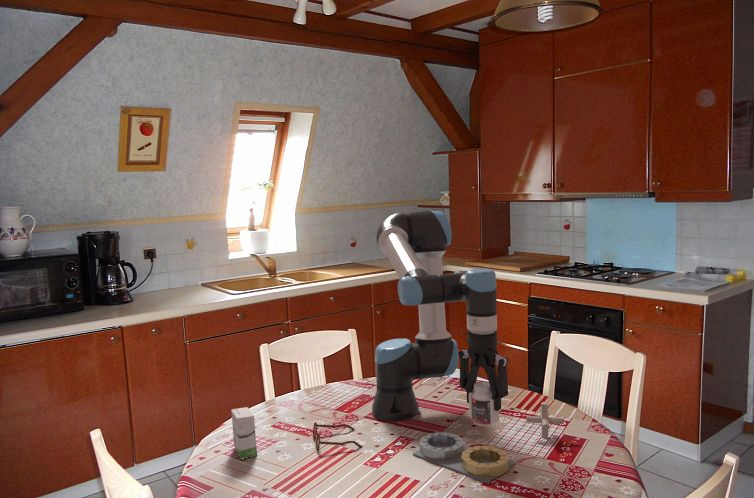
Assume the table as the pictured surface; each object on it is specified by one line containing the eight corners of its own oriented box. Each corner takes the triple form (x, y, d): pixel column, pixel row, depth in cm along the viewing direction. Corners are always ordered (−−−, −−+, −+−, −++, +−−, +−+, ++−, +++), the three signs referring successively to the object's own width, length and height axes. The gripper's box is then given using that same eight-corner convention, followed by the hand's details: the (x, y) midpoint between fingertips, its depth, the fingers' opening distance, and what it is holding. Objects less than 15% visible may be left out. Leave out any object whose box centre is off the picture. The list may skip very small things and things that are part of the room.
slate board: (412, 455, 161) (412, 453, 161) (442, 439, 171) (441, 437, 171) (487, 483, 145) (487, 481, 145) (515, 463, 154) (515, 462, 154)
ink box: (257, 456, 165) (255, 415, 163) (240, 460, 162) (237, 419, 161) (250, 444, 172) (247, 405, 171) (233, 448, 170) (230, 408, 169)
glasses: (312, 436, 177) (311, 420, 177) (355, 430, 180) (354, 414, 180) (317, 455, 165) (316, 438, 164) (363, 449, 167) (362, 432, 167)
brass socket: (452, 467, 153) (452, 457, 152) (478, 451, 161) (478, 442, 161) (491, 481, 145) (491, 471, 144) (517, 464, 153) (516, 454, 153)
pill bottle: (468, 422, 152) (467, 385, 151) (481, 416, 155) (480, 379, 154) (486, 428, 147) (485, 390, 146) (499, 421, 151) (499, 384, 150)
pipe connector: (565, 445, 163) (564, 410, 162) (527, 443, 165) (527, 409, 164) (561, 430, 173) (561, 397, 172) (526, 429, 175) (525, 396, 174)
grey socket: (411, 451, 162) (411, 442, 162) (438, 437, 171) (437, 429, 171) (446, 464, 154) (445, 455, 154) (472, 448, 163) (471, 440, 162)
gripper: (443, 328, 153) (445, 414, 155) (506, 339, 140) (508, 433, 142) (460, 322, 158) (462, 406, 161) (522, 332, 145) (524, 423, 148)
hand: (484, 418), depth 151 cm, fingers closed on pill bottle, 6 cm apart
